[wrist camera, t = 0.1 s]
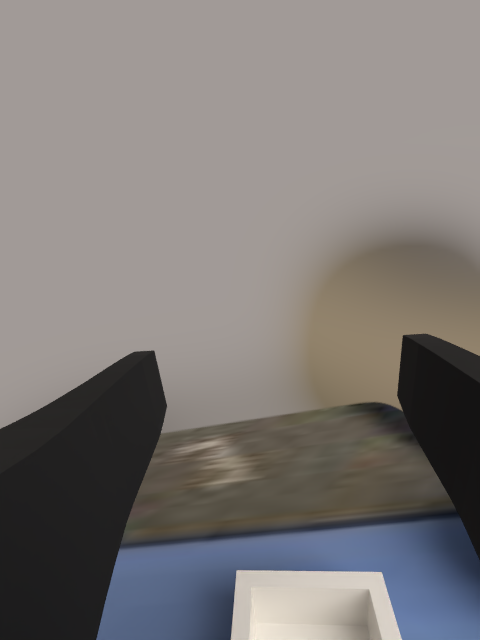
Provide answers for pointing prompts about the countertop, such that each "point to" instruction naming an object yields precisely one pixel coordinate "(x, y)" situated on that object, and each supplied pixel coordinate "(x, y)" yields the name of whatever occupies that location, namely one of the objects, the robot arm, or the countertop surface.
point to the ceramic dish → (312, 606)
